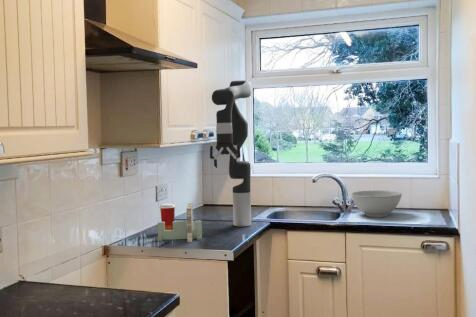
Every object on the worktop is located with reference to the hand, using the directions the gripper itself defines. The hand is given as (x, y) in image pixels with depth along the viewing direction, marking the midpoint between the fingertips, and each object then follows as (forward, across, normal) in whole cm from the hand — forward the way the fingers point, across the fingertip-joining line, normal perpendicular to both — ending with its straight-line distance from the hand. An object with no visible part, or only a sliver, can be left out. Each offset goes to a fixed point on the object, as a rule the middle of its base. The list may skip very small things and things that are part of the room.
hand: (225, 167), depth 242 cm
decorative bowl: (+32, -83, -40) cm, 98 cm away
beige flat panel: (+32, +17, +4) cm, 37 cm away
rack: (+32, +22, +4) cm, 39 cm away
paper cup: (+32, +29, -11) cm, 45 cm away
